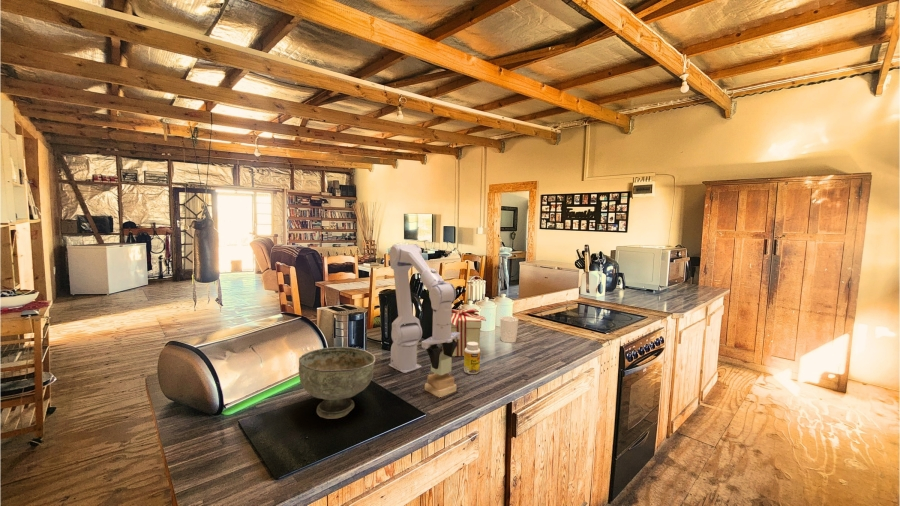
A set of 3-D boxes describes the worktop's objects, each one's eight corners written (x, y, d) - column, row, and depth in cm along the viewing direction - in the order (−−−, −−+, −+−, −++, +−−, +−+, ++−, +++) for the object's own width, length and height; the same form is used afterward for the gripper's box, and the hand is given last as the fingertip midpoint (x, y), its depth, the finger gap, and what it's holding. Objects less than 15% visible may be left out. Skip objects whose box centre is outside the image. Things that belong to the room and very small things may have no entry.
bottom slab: (424, 391, 116) (424, 383, 115) (441, 384, 120) (441, 377, 120) (439, 399, 111) (440, 391, 110) (456, 392, 115) (456, 384, 115)
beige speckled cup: (520, 339, 167) (520, 318, 166) (513, 344, 160) (514, 322, 159) (503, 336, 171) (504, 315, 170) (496, 341, 164) (497, 319, 163)
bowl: (386, 410, 102) (387, 357, 101) (318, 437, 89) (318, 377, 88) (351, 386, 117) (351, 339, 115) (288, 406, 103) (287, 354, 102)
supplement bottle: (470, 376, 126) (470, 347, 126) (460, 370, 131) (461, 342, 130) (482, 372, 130) (483, 344, 129) (473, 367, 134) (474, 339, 133)
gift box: (443, 360, 140) (444, 316, 138) (439, 344, 158) (439, 304, 156) (487, 359, 142) (489, 315, 140) (478, 343, 160) (479, 304, 159)
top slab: (427, 382, 116) (427, 375, 116) (443, 378, 120) (443, 370, 119) (438, 390, 111) (438, 382, 111) (454, 385, 115) (454, 377, 114)
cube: (430, 370, 115) (431, 356, 114) (441, 367, 118) (441, 353, 118) (440, 375, 112) (441, 361, 111) (451, 371, 115) (451, 357, 115)
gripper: (433, 330, 106) (432, 376, 107) (467, 321, 116) (466, 363, 117) (417, 325, 111) (416, 369, 112) (451, 317, 121) (450, 357, 122)
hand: (440, 365), depth 115 cm, fingers closed on cube, 4 cm apart
